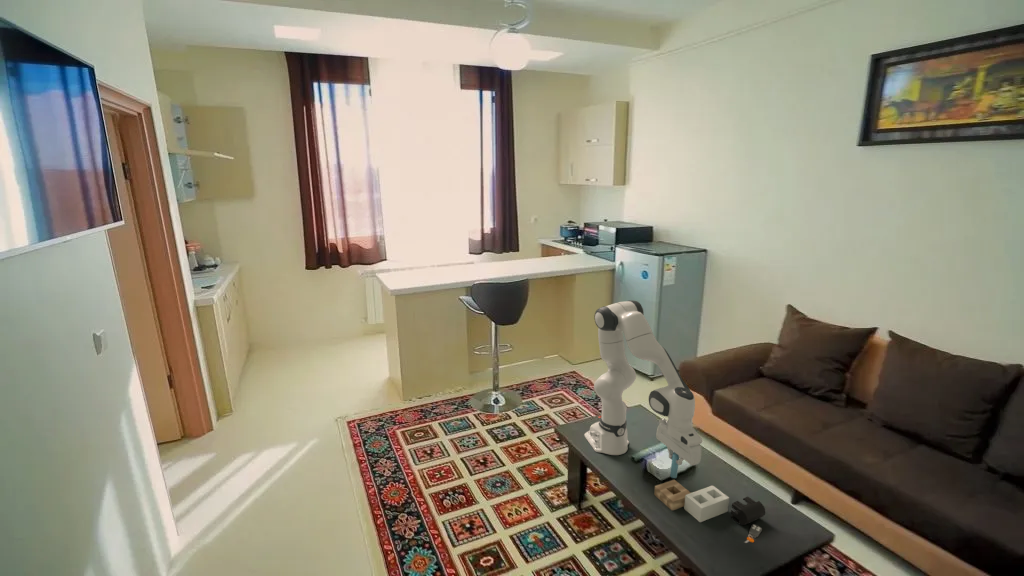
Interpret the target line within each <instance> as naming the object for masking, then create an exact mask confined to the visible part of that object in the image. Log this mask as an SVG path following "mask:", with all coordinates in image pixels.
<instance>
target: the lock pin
mask: <svg viewBox="0 0 1024 576" xmlns="http://www.w3.org/2000/svg"><path fill="white" fill-rule="evenodd" d="M676 459H680V458H679V455H677V454H676V453H675V452H674V451H673V456H672V459H671V465H670V472H669V473H670V474H669V477H670V478H671V479H677V478H678V469H679V465H678V464H677V463H676Z"/></svg>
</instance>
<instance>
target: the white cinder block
mask: <svg viewBox="0 0 1024 576" xmlns="http://www.w3.org/2000/svg"><path fill="white" fill-rule="evenodd" d="M729 504H730V497H729V496H728V495H727V494H725V493H723V492H722V491H721V490H720V489H718V488H717V487H716V486H714V485H710V486H707V487H704V488H701V489H698V490H695V491H693V492H690V494H687V495H685V505H684V507H683V508H684V510H685V511H686V512H687V513H688V514H690V515H691V516H692V518H694V519H696V520H697V521H698V522H699V523H702V522H704V521H706V520H707V521H708V520H709V519H712V518H716V517H718V516H721V515H722V514H725V513H727V512H729V511H728V510H729Z"/></svg>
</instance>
